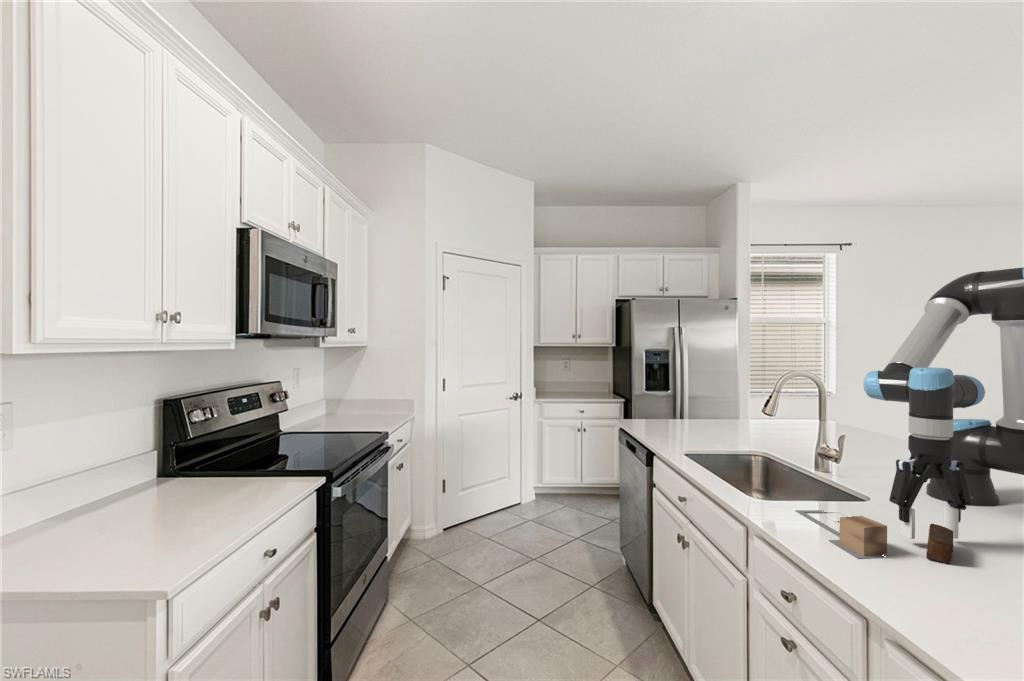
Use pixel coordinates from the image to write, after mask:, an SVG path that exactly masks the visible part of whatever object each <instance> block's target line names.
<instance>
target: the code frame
mask: <svg viewBox="0 0 1024 681" xmlns="http://www.w3.org/2000/svg"><path fill="white" fill-rule="evenodd" d="M824 510H825V509H822V510H821V509H820V510H819V509H817V510H815V509H814V510H812V509H811V510H810V509H809V510H808V509H807V510H803V509H802V510H801V509H800V510H798V509H797V510H796V509H795V511H794V512H795V513H798V514H800V515H801V516H803V517H804V518H806V519H808V520H810V521H811V522H813V523H814V524H816V525H818V526H820V527H822V528H823V529H825V530H826V531H828V532H830V533H832V534H833V535H835V536H836V537H838V538H840V531H837V530H835V529H834V528H832V527H831V526H829V525H827V524H825V523H824V522H821V521H820V520H818V519H816V518H815V517H813V516H811V515H809V514H823V513H822V511H823V512H824Z"/></svg>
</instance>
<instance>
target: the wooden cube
mask: <svg viewBox="0 0 1024 681" xmlns="http://www.w3.org/2000/svg"><path fill="white" fill-rule="evenodd" d="M839 519H840V522H839V524H840V525H839V533H840V537H839V540H840V541H839V544H841V545H843V546H845V547H847V548H849V549H851V550H853V551H855V552H857V553H859V554H861V555H863V556H866V555H877V554H885V553H886V554H888V525H885V524H883V523H882V522H879V521H876V520H874V519H871V518H869V517H866V516H863V515H856V516H855V515H853V516H852V517H848V516H841V517H839ZM886 554H885V555H886Z"/></svg>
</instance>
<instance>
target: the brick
mask: <svg viewBox="0 0 1024 681" xmlns="http://www.w3.org/2000/svg"><path fill="white" fill-rule="evenodd" d="M926 546H927V547H926V548H927V549H926V559H927V560H931V561H934V562H937V563H940V562H941V564H943V563H944V565H949V564H950V563H951V562H952V559H953V553H954V538H953V531H952V530H950V529H948V528H946V527H944V525H940V524H935V523H930V524H929V528H928V538H927V545H926Z"/></svg>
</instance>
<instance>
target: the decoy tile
mask: <svg viewBox="0 0 1024 681" xmlns="http://www.w3.org/2000/svg"><path fill="white" fill-rule="evenodd" d="M839 541H840V539H828V542H830V543H831V544H833V545H835V546H836V547H837V548H840V549H841V550H843V551H845V552H846V553H848V554H849V555H851V556H853V557H854V558H855V559H857V560H865V559H866V560H869V559H885V558H884V556H885V555H886V554H885V555H884V556H882V555H883V554H877V555H866V556H863V555H861V554H859V553H857V552H855V551H853V550H851V549H849V548H847V547H845V546H843V545H841V544H839Z"/></svg>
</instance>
